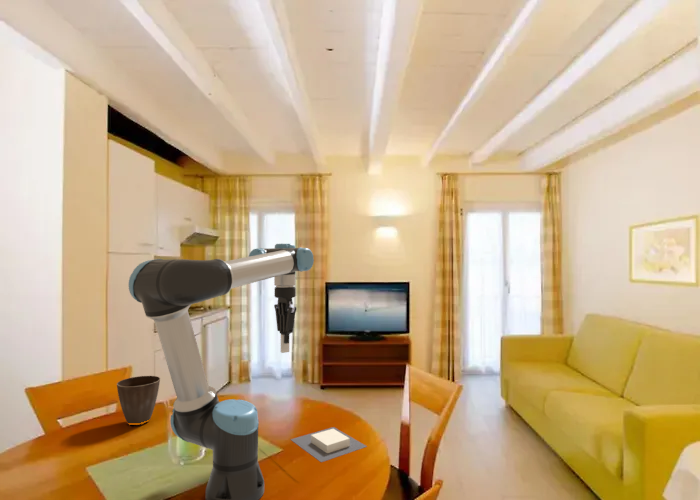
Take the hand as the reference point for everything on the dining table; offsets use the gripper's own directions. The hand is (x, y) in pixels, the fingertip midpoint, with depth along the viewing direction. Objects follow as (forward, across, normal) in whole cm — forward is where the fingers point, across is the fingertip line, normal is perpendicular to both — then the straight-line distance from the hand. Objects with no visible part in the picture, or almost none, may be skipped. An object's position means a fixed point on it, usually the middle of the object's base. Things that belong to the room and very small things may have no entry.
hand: (284, 352), depth 149 cm
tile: (+28, -12, -8) cm, 31 cm away
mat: (+29, -16, -8) cm, 34 cm away
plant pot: (+30, +44, +40) cm, 66 cm away
